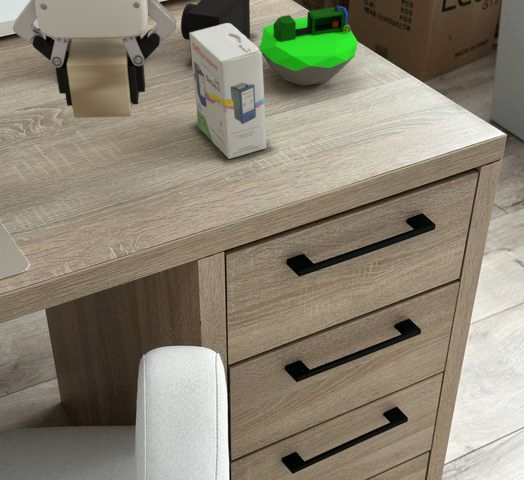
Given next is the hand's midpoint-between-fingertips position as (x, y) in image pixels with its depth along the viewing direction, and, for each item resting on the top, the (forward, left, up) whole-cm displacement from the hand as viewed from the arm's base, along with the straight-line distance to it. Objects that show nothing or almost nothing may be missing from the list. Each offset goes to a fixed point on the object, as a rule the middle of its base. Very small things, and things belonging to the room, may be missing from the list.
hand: (103, 96), depth 94 cm
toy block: (0, 0, -1) cm, 1 cm away
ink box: (+12, +10, -11) cm, 19 cm away
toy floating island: (+22, +24, -11) cm, 35 cm away
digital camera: (+11, +33, -11) cm, 36 cm away
